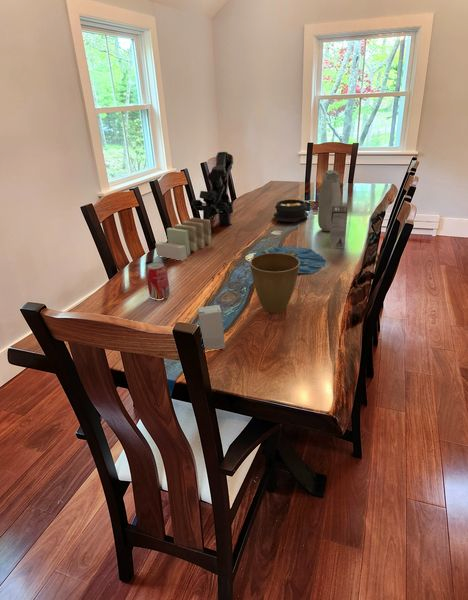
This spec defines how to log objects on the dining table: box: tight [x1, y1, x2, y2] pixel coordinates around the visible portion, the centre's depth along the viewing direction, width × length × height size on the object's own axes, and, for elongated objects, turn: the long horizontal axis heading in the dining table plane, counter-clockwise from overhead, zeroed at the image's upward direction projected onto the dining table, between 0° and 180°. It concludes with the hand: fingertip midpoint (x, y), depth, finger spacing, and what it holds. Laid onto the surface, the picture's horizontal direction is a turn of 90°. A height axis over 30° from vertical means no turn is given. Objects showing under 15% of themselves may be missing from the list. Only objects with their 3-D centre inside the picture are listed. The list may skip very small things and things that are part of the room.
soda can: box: [145, 261, 171, 299], centre depth 136 cm, size 7×7×12 cm
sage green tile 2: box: [182, 220, 206, 249], centre depth 181 cm, size 2×10×11 cm, turn 58°
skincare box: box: [197, 304, 226, 351], centre depth 106 cm, size 6×4×12 cm
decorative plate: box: [252, 245, 327, 275], centre depth 161 cm, size 30×30×5 cm
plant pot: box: [249, 253, 300, 314], centre depth 124 cm, size 15×15×16 cm
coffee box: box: [329, 205, 348, 249], centre depth 172 cm, size 9×6×16 cm
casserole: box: [273, 199, 309, 223], centre depth 213 cm, size 25×19×8 cm
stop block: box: [155, 241, 188, 262], centre depth 170 cm, size 3×14×6 cm, turn 58°
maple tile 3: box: [174, 223, 199, 253], centre depth 177 cm, size 2×10×11 cm, turn 58°
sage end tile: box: [166, 227, 191, 257], centre depth 173 cm, size 2×10×11 cm, turn 58°
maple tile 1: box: [189, 217, 213, 245], centre depth 185 cm, size 2×10×11 cm, turn 58°
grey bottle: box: [317, 169, 342, 232], centre depth 187 cm, size 10×10×28 cm
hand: (204, 222), depth 186 cm, fingers closed
